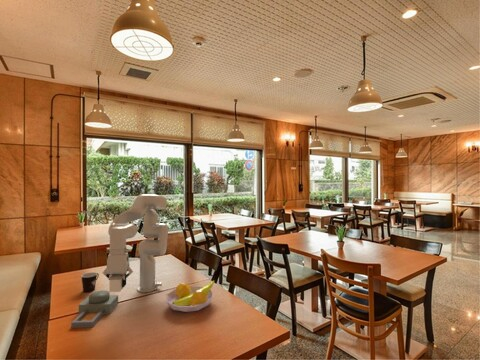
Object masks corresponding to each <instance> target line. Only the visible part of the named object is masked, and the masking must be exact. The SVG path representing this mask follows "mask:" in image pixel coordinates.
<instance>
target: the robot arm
mask: <svg viewBox="0 0 480 360" xmlns="http://www.w3.org/2000/svg"><path fill="white" fill-rule="evenodd" d="M167 205H168V200H167V199H166V197H165V196H163V195H159V194H150V193H148V194H146V193H143V194H138V196H136V198H135V199H134V201H133V203H132V205H131V206H130V208H129V209H127V210H125V211H123V212H121V213H120V214H118V215H116V216H115V217H114V219H113V220H112V222H111V223H110V225H109V227H108V232H107V233H108V235H109V254H108V255H107V261H106V268H105V269H104V270H103V272H102V274H103V275H104V276H105V277H106V278H107V279H108V281H109V285H108V286H110V277H111V276H112V275H113V274H122V278H123V280H122V288H123V287H124V288H125V287H126V285H127V278H128V277H129V276H130V275H132V274H133V272H134V271H133V269H132V268H131V266H130V258H129V253H128V252H129V250H130V249H129V248H127V239H133V238H134V237H135V236H136V235H137V233H138V227H137V226H136V224H134V223H131V222H135V221H138V220H140V219H142V218H143V217H144V223H143V230H142V235H143V236H144V238H149V239H144V240H142V241H140V242H139V244H138V249H137V250H138V253H139V285H138V286H137V287H136V290H137V292H139V293H151V292H154V291H156V290H157V289H158V287H162V286H163V283H162V282H161V281H159V282H158V281H157V279H156V259H155V256H164V255H165V253H166V252H167V247H168V237H169V228H168V225H167V224H166V223H160V222H158V221H159V215H158V213H157V211H156V210H164V209H165V208H166V207H167Z"/></svg>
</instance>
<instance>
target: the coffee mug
mask: <svg viewBox="0 0 480 360" xmlns="http://www.w3.org/2000/svg"><path fill="white" fill-rule="evenodd" d="M99 275H100V274H99V273H98V272H91V271H90V272H86V273H83V274H82V275H80V276H81V285H82V291H83V293H85V294H87V293H93V292H95V290H96V285H97V284H96V283H97V280H98V278H99V277H100V276H99Z"/></svg>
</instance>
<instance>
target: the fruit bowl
mask: <svg viewBox="0 0 480 360" xmlns="http://www.w3.org/2000/svg"><path fill="white" fill-rule="evenodd" d="M214 283H215V280H212V282H210V283H208V284H206V285H204V286H200V285H197V286H196V285H190V284H188V283H186V282H182V283H179V284H178V285H177V286H176V288H174V289H173V290H171V291H169V292H168V293H167V294H166V295H165V298H166V299H165V302H166V303H167V305H168V306H169V307H170V308H171V309H172V310H173V311H178V312H179V311H180V312H183V313H184V312H185V313H190V312H197V311H199V310H202V309H203V308H206V307H208V306H210V304H211V302H212V300H213V298H214V294H213V292H212V290H211V289H212V288H213V286H214ZM190 305H192V306H190Z"/></svg>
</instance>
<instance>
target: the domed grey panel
mask: <svg viewBox="0 0 480 360" xmlns="http://www.w3.org/2000/svg"><path fill="white" fill-rule="evenodd" d="M110 293H111V292H110V290H106V289H105V290H104V289H102V290H97V291H92V292H90V294H89V295H87V297H85V299H84V300H83V301H81V302H80V303H79V304H78V316H76V317H75V318H74V319H73V320H72V321H71V323H70V328H72V329H75V328H76V329H77V328H81V329H82V328H94V327H95V325H97V323H98V322H99V321H100V319H101V318H102V317H103V316H104V315H109V314H111V313H112V312H113V310H114V309H115V308H116V307H118V305H119V294H110Z"/></svg>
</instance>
